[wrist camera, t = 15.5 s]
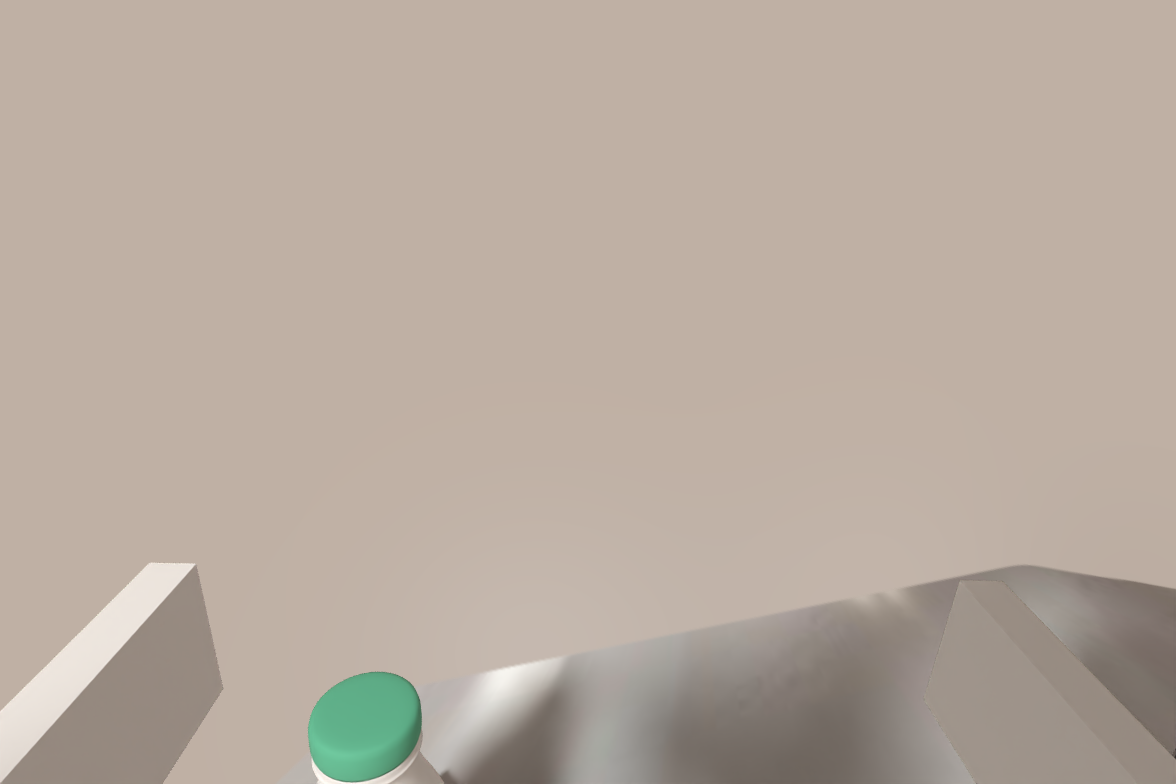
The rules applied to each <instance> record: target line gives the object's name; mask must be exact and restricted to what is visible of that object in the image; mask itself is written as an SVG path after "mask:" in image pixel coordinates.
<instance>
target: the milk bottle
mask: <svg viewBox="0 0 1176 784" xmlns="http://www.w3.org/2000/svg"><path fill="white" fill-rule="evenodd" d="M421 726H422V713H421V704H420V699H419V696H418V694H417V692H416V690H415V688H414V687H413V685H412V684H411V683H410V682H408V681H407V680H406V679H404V678H403V677H400V676H398V675H396V674H392V673H387V672H369V673H364V674H359V675H356V676H353V677H350V678H348V679H346V680H344V681H342V682H340V683H338V684H337V685H335V686H334V687H332V688H331V689H330V690H328V691H327V692H326V693H325V694H324V695H323V696H322V697H321V698H320V700H319V701H318V702H317V704H316V706H315V707H314V709H313V711H312V714H311V717H310V721H309V726H308V738H309V747H310V752H311V756H312V767H313V770H314V773H315V775H316V776H317V778H318V781H317V784H444V782H443V780H442V779H441V777H440V775H439V774H438V773H437V771H436V770H435V769H434V768H433V766H432V765H431V764H430V763H429V762H428V761H427V760H426V759H425V758H424V757H423V755H422V754H421V752H420V747H421V744H422V727H421Z"/></svg>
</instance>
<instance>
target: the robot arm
mask: <svg viewBox="0 0 1176 784" xmlns="http://www.w3.org/2000/svg"><path fill="white" fill-rule="evenodd" d="M222 690H223V685H222V680H221V676H220V671H219V667H218V663H217V657H216V653H215V649H214V644H213V639H212V634H211V630H210V625H209V621H208V616H207V611H206V607H205V602H204V598H203V593H202V589H201V584H200V579H199V575H198V570H197V565H196V564H180V563H175V564H174V563H149V564H148V565H147V566H146V567H145V568H144V569H143V570H142V571H141V572H140V573H139V574H138V575H137V576H136V577H135V578H134V579H133V580H132V581H131V582H130V583H129V584H128V585H127V586H126V587H125V588H124V589H123V590H122V591H121V592H120V593H119V594H118V595H117V596H116V597H115V598H114V599H113V600H112V601H111V602H110V603H109V604H108V605H107V606H106V607H105V608H104V609H103V610H102V611H101V612H100V613H99V614H98V615H97V616H96V617H95V618H94V619H93V620H92V621H91V622H90V623H89V624H88V625H87V626H86V627H85V628H84V629H83V630H82V631H81V632H80V633H79V634H78V635H77V636H76V637H75V638H74V639H73V640H72V641H71V642H70V643H69V644H68V645H67V646H66V647H65V648H64V649H63V650H62V651H61V652H60V653H59V654H58V655H57V656H56V657H55V658H54V659H53V660H52V661H51V662H50V663H49V664H48V665H47V666H46V667H45V668H43V669H42V671H41V672H40V673H39V674H38V675H37V676H35V678H33V680H31V681H30V682H29V683H28V684H27V685H26V686H25V687H24V688H23V689H22V690H21V691H20V692H19V693H18V694H17V695H16V696H15V697H14V698H13V699H12V700H11V701H10V702H9V703H8V704H7V705H6V706H5V707H4V708H3V709H2V710H1V711H0V784H163V782H164V780H165V779H166V777H167V776H168V774H169V773H170V771H171V770H172V768H173V767H174V765H175V763H176V762H177V760H178V759H179V757H180V755H181V754H182V752H183V751H184V749H185V748H186V746H187V745H188V743H189V741H190V740H191V738H192V737H193V735H194V734H195V732H196V731H197V729H198V727H199V726H200V724H201V723H202V721H203V720H204V718H205V716H206V715H207V713H208V712H209V710H210V708H211V707H212V706H213V704H214V702H215V701H216V699H217V698H218V696H219V695H220V693H221V691H222ZM924 701H925V702H926V704H927V706H928V707H929V709H930V710H931V712H932V714H933V715H934V717H935V718H936V720H937V722H938V723H939V725H940V726H941V728H942V730H943V731H944V733H945V734H946V736H947V738H948V739H949V741H950V742H951V744H952V746H953V747H954V749H955V750H956V752H957V754H958V755H959V757H960V758H961V760H962V762H963V763H964V765H965V766H966V768H967V770H968V771H969V773H970V774H971V776H972V778H973V779H974V781H975V782H976V784H1176V749H1175V751H1174V753H1173V755H1171V754H1170V753H1169V752H1168V751H1167V750H1166V749H1165V748H1164V747H1163V746H1162V745H1161V744H1160V743H1159V742H1158V741H1157V739H1156V738H1155V737H1154V736H1153V735H1152V734H1151V733H1150V732H1149V731H1148V730H1147V729H1146V728H1145V727H1144V726H1143V725H1142V724H1141V723H1140V722H1139V721H1138V720H1137V719H1136V718H1135V717H1134V716H1133V715H1132V714H1131V713H1130V712H1129V711H1128V710H1127V709H1126V708H1125V707H1124V706H1123V705H1122V703H1121V702H1120V701H1119V700H1118V699H1117V698H1116V697H1115V696H1114V695H1113V694H1112V693H1111V692H1110V691H1109V690H1108V689H1107V688H1106V687H1105V686H1104V685H1103V684H1102V683H1101V682H1100V681H1099V680H1098V679H1097V678H1096V677H1095V676H1094V675H1093V674H1092V673H1091V672H1090V671H1089V670H1088V668H1087V667H1086V666H1085V665H1084V664H1083V663H1082V662H1081V661H1080V660H1079V659H1078V658H1077V657H1076V656H1075V655H1074V654H1073V653H1072V652H1071V651H1070V650H1069V649H1068V648H1067V647H1066V646H1065V645H1064V644H1063V643H1062V642H1061V641H1060V640H1059V639H1058V638H1057V637H1056V636H1055V635H1054V634H1053V632H1052V631H1051V630H1050V629H1049V628H1048V627H1047V626H1046V625H1045V624H1044V623H1043V622H1042V621H1041V620H1040V619H1039V618H1038V617H1037V616H1036V615H1035V614H1034V613H1033V612H1032V611H1031V610H1030V609H1029V608H1028V607H1027V606H1026V605H1025V604H1024V603H1023V602H1022V601H1021V600H1020V599H1019V598H1018V596H1017V595H1016V594H1015V593H1014V592H1013V591H1012V590H1011V589H1010V588H1009V587H1008V586H1007V585H1006V584H1005V583H1004V582H1003V581H976V580H960V581H959V584H958V588H957V591H956V594H955V598H954V601H953V604H952V607H951V611H950V614H949V617H948V621H947V624H946V627H945V630H944V634H943V637H942V640H941V643H940V647H939V650H938V653H937V657H936V660H935V663H934V666H933V670H932V673H931V676H930V680H929V683H928V686H927V689H926V693H925V696H924Z"/></svg>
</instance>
